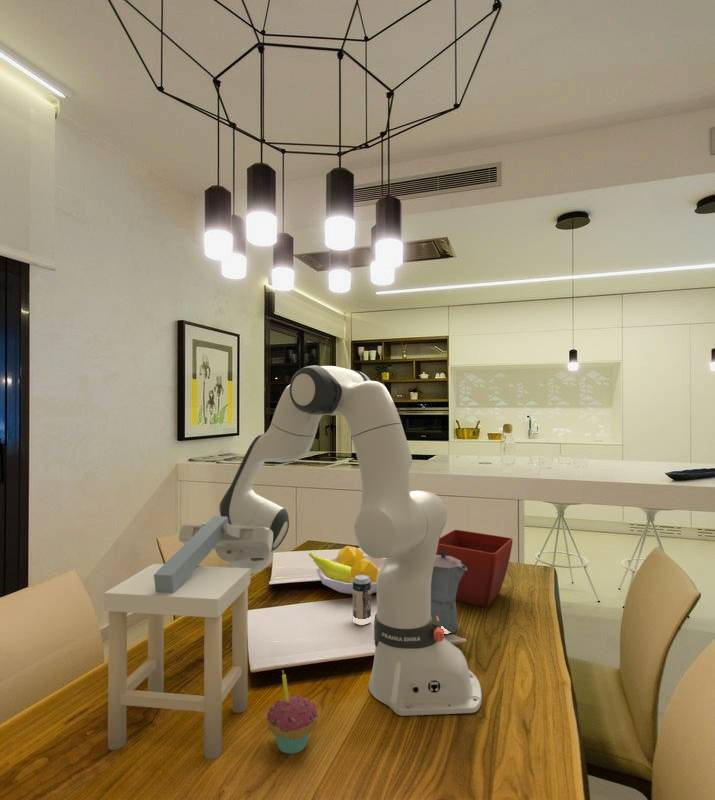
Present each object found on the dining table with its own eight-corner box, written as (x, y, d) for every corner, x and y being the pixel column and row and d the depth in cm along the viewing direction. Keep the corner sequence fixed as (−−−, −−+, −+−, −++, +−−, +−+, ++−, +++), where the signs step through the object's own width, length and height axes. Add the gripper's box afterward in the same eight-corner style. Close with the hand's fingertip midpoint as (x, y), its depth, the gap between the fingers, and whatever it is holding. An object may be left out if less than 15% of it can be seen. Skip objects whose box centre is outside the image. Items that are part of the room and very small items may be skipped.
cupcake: (257, 753, 80) (257, 680, 80) (283, 722, 88) (283, 655, 88) (303, 768, 77) (303, 691, 77) (326, 734, 85) (326, 665, 85)
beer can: (369, 627, 125) (369, 580, 126) (351, 625, 126) (351, 579, 127) (372, 619, 130) (372, 574, 130) (354, 617, 131) (354, 573, 131)
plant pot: (513, 592, 149) (513, 537, 149) (495, 615, 133) (495, 553, 133) (454, 580, 159) (454, 528, 159) (430, 600, 143) (430, 542, 143)
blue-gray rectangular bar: (229, 530, 105) (227, 516, 104) (173, 593, 81) (171, 575, 81) (214, 530, 105) (213, 516, 105) (155, 592, 82) (153, 574, 81)
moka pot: (460, 642, 118) (460, 559, 118) (403, 627, 126) (403, 549, 126) (473, 627, 126) (473, 549, 126) (419, 613, 134) (419, 540, 134)
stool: (250, 704, 93) (250, 568, 94) (217, 760, 78) (218, 599, 79) (152, 695, 96) (153, 563, 96) (103, 749, 81) (104, 592, 81)
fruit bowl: (405, 575, 164) (405, 541, 164) (392, 608, 137) (392, 568, 137) (325, 569, 170) (325, 536, 170) (299, 599, 144) (299, 561, 144)
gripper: (196, 529, 116) (170, 510, 104) (280, 532, 113) (263, 513, 101) (190, 556, 113) (163, 540, 101) (275, 559, 110) (258, 544, 98)
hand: (214, 527), depth 101 cm, fingers closed on blue-gray rectangular bar, 3 cm apart
